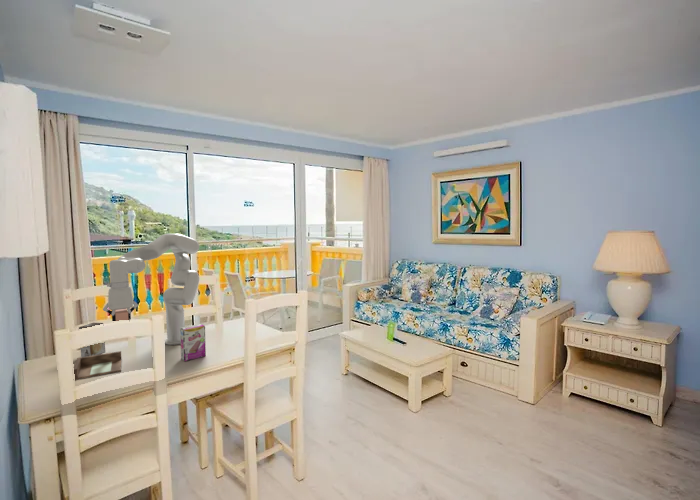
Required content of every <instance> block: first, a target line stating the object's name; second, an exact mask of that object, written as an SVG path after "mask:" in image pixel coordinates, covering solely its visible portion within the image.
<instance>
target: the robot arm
mask: <svg viewBox="0 0 700 500" xmlns="http://www.w3.org/2000/svg"><path fill="white" fill-rule="evenodd" d="M169 250H171V252H172V253H173V255H174V259H175V262H174V267H173V271H172V272H171V273H172V274H171V278H170V282H171V284H172V285H174V286H177V287H170V288H167V289H166V290H164V292H163V295H162V298H163V302H164V308H165V317H166V318H165V322H166V339H164V341H165V343H164V344H165V345H168V346H173V345H175V346H176V345H181V341H180V328H183V327H186V325H185V309H184V306H189V305H191V304H192V303H193V302H194V301H195V298H196V294H197V291H198V287H199V284H200V276H199V273H198V271H196V270H191V265H192V262H191V258H190V255H192V254H193V255H194V254H197V252H198V251H199V250H200V243H199V242H198V240H196V238H195V239H194V238H192V237H189V236H186V235H184V234H181V233H164V234H161V235H159V236H158V237H157V238H155V239H154V240H152V241H151V242H149V243H148V244H145V245H143V246H140V247H137V248H135V249H132V250H130V251H127V252H126V253H123V255H121V256H120V257H118V258H117V259H112V260H110V261H109V264H108V265H109V280H110V282H108V283H107V284H106V287H109V288H108V293H107V294H108V295H107V303H106V304H105V305H104V307H103V308H102V311H104V312H106V313H107V314H109V315H111V322H112V321H116V316H115V310H118V309H127V311H128V319H129V321H130V320H131V319H132V317H131V316H132V315H131V314H132V312H133V311H135V309H136V308H138V307H139V304H138V303H137V302H136V301H135V300H134V298H133V297H134V296H133V291H132V287H131V286H130V285H129V284H130V283H129V274H138V273H142V271H144V270H145V268H146V262H145V261H150V260H155V259H158V258H160V256H162V255H163V254H164V253H166V252H168V251H169ZM178 286H179V287H178Z"/></svg>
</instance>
